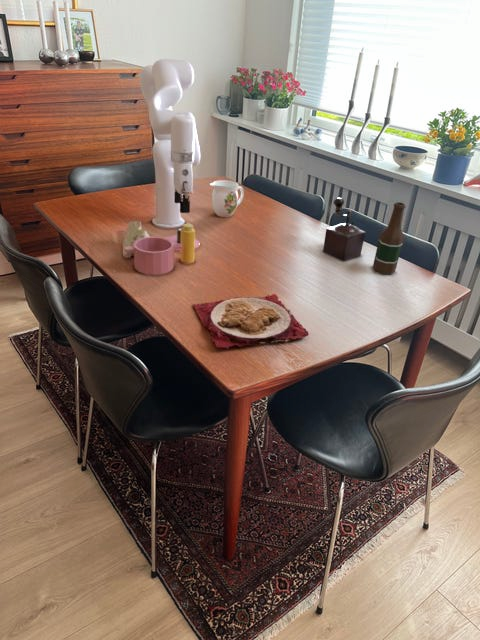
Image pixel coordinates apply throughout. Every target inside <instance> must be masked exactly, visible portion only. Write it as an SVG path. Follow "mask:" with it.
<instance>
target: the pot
mask: <svg viewBox="0 0 480 640" xmlns="http://www.w3.org/2000/svg"><path fill="white" fill-rule="evenodd" d="M165 238H166V237H161V236H150V237H145V238H141V239H138V240H136V241H135V242H134V244H133V246H126V247H125V252H134V255H133V266H134V269H135V270H136V271H138V272H139V273H142V274H145V275H151V276H153V275H163V274H167V273H169V272H171V271H172V270H174V267H175V251H174V250H177V249H182V245H181V244H173V242H172V241H170V240H169V239H165Z"/></svg>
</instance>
